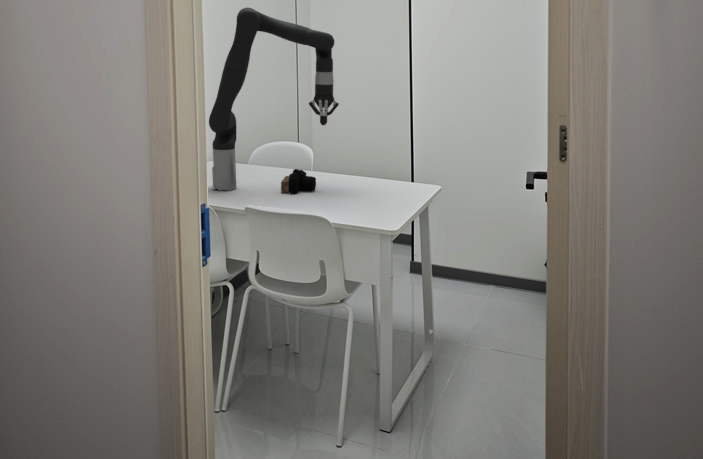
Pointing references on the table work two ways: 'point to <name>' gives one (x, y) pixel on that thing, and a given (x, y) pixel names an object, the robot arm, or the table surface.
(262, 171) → the table surface
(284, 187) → the bar
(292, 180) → the film camera
